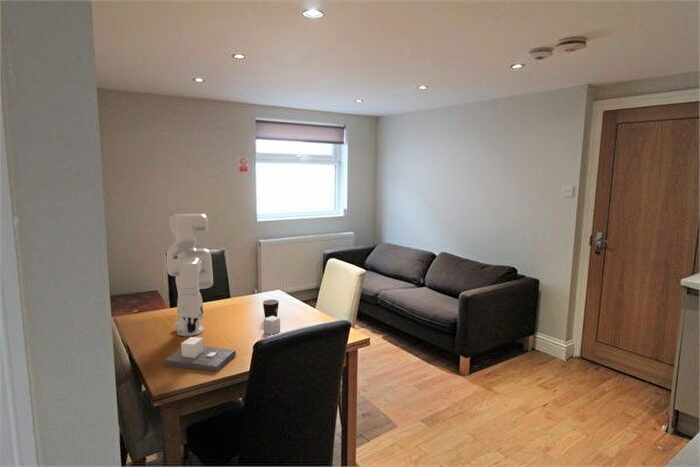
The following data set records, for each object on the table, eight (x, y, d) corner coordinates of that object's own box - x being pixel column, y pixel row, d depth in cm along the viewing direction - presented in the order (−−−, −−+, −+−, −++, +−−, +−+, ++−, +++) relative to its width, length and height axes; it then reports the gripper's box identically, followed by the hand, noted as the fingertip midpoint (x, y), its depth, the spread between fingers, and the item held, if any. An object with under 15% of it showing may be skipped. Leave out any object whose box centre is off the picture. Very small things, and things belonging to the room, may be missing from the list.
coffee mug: (270, 323, 226) (270, 305, 224) (259, 319, 231) (259, 302, 230) (286, 317, 235) (286, 300, 234) (275, 314, 240) (275, 297, 239)
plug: (182, 361, 180) (181, 343, 179) (191, 354, 187) (190, 336, 186) (194, 363, 179) (193, 344, 178) (203, 356, 186) (203, 338, 185)
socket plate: (165, 365, 177) (164, 358, 177) (187, 349, 193) (187, 342, 192) (216, 372, 172) (216, 364, 172) (235, 355, 187) (235, 348, 187)
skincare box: (272, 328, 219) (272, 315, 217) (280, 331, 215) (280, 318, 214) (263, 332, 214) (263, 318, 213) (271, 335, 210) (271, 321, 209)
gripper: (168, 291, 176) (171, 333, 179) (200, 294, 173) (202, 336, 176) (179, 286, 184) (181, 327, 186) (210, 289, 180) (212, 330, 183)
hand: (191, 331), depth 181 cm, fingers closed
